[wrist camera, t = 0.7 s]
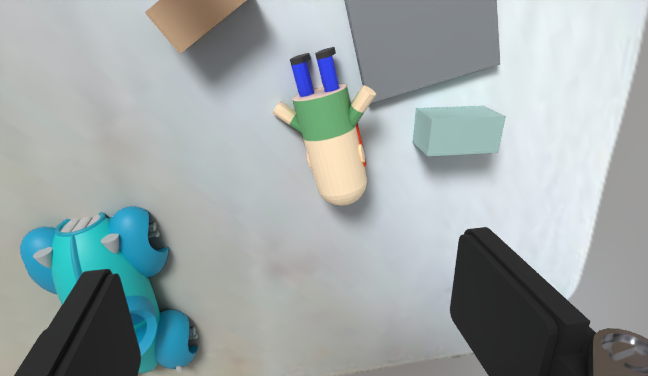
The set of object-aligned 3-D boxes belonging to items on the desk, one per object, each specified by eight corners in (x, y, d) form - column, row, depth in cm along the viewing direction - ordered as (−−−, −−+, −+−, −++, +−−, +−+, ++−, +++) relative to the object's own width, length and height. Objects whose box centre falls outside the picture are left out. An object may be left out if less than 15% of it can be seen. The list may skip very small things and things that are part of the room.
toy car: (152, 197, 34) (130, 240, 28) (209, 351, 42) (202, 411, 36) (17, 223, 33) (-36, 273, 27) (101, 376, 41) (75, 441, 35)
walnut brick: (224, -46, 27) (221, -52, 24) (253, -5, 29) (253, -6, 25) (156, 10, 28) (144, 12, 25) (187, 48, 29) (180, 54, 26)
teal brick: (482, 105, 35) (505, 116, 32) (477, 139, 36) (498, 152, 33) (415, 107, 34) (432, 119, 31) (412, 142, 35) (427, 156, 32)
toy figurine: (272, 60, 33) (310, 193, 37) (247, 72, 29) (293, 218, 33) (372, 36, 30) (400, 184, 34) (359, 46, 26) (392, 211, 30)
